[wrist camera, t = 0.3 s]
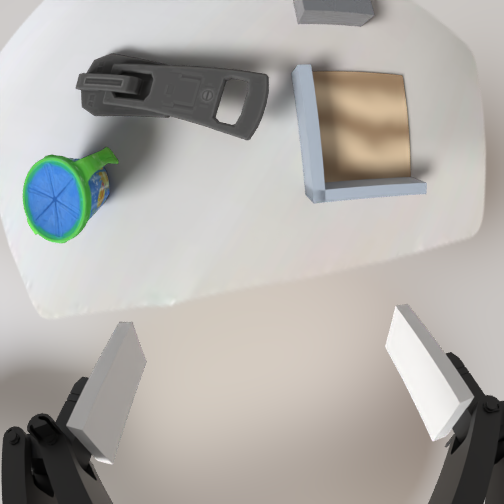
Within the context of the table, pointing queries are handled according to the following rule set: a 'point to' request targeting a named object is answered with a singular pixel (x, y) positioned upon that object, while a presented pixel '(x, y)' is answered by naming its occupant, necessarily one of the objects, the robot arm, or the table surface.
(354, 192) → the corner walls
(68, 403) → the robot arm
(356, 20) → the angle bracket
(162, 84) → the zipper pull
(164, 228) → the table surface
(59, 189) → the snack cup
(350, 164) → the cork mat
